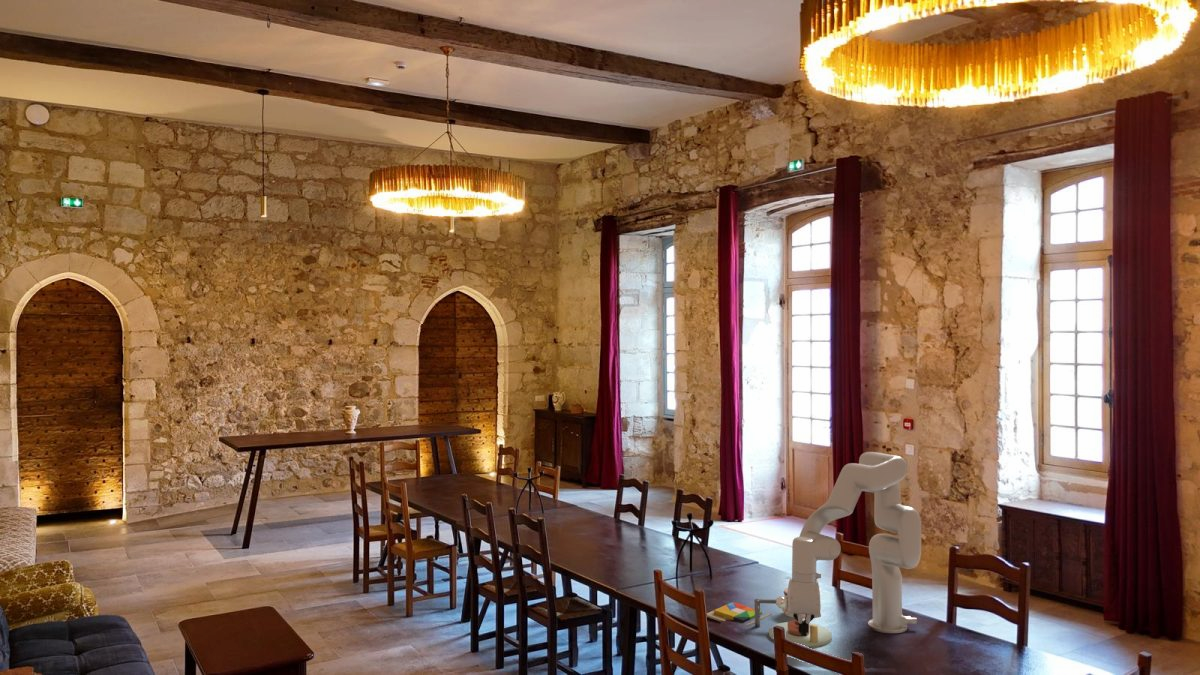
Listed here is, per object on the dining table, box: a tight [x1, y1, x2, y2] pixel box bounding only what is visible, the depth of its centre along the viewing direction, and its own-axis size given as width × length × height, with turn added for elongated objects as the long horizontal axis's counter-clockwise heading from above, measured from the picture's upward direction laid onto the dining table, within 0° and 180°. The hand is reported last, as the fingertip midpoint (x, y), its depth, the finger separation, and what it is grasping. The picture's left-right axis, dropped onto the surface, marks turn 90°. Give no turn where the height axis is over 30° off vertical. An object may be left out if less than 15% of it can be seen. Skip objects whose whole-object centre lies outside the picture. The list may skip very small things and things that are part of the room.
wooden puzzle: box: [706, 601, 772, 627], centre depth 305 cm, size 18×19×4 cm
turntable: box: [768, 621, 833, 648], centre depth 282 cm, size 20×20×6 cm
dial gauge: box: [753, 596, 787, 628], centre depth 292 cm, size 12×5×11 cm, turn 85°
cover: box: [787, 618, 809, 636], centre depth 282 cm, size 7×7×5 cm
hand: (803, 634), depth 273 cm, fingers closed
